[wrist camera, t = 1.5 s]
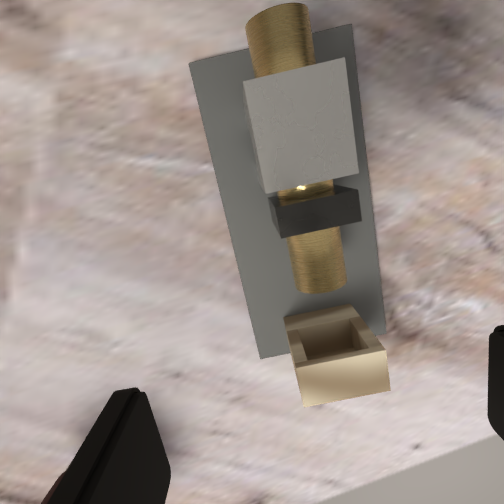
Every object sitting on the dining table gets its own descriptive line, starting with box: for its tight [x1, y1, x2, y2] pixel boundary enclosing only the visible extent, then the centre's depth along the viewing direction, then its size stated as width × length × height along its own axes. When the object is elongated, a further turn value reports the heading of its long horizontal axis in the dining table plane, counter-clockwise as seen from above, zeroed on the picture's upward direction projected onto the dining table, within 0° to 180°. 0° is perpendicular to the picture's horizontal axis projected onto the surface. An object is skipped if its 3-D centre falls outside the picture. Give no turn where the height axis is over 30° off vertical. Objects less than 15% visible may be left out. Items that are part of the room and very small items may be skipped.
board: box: [189, 24, 386, 359], centre depth 28 cm, size 28×13×1 cm, turn 12°
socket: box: [283, 304, 391, 407], centre depth 27 cm, size 4×7×8 cm, turn 102°
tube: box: [245, 3, 362, 294], centre depth 22 cm, size 18×5×6 cm, turn 12°
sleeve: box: [243, 57, 359, 194], centre depth 22 cm, size 6×6×8 cm
